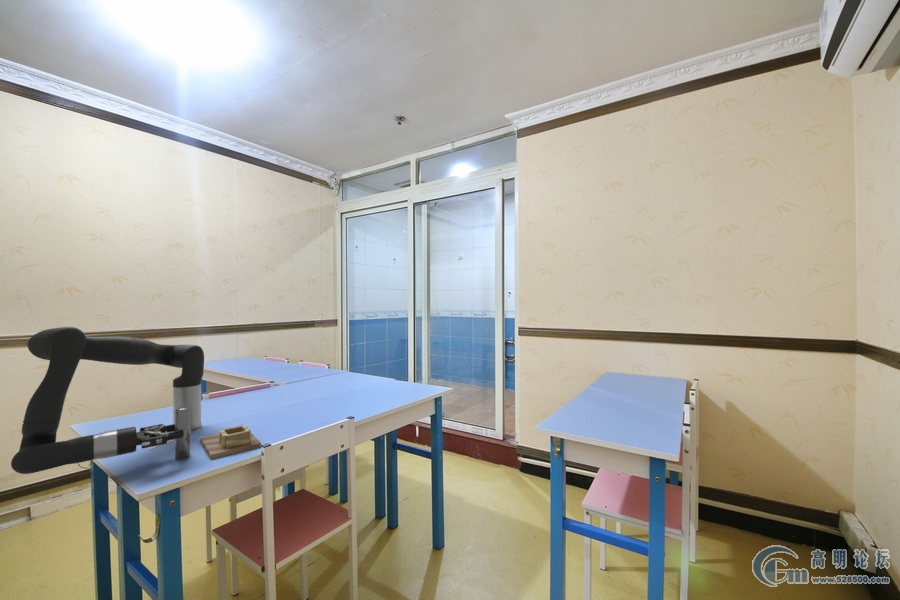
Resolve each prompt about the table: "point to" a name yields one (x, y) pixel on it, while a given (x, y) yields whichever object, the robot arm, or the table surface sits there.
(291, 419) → the table surface
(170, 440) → the pliers
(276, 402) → the table surface
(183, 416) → the steel pin
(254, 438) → the socket board
